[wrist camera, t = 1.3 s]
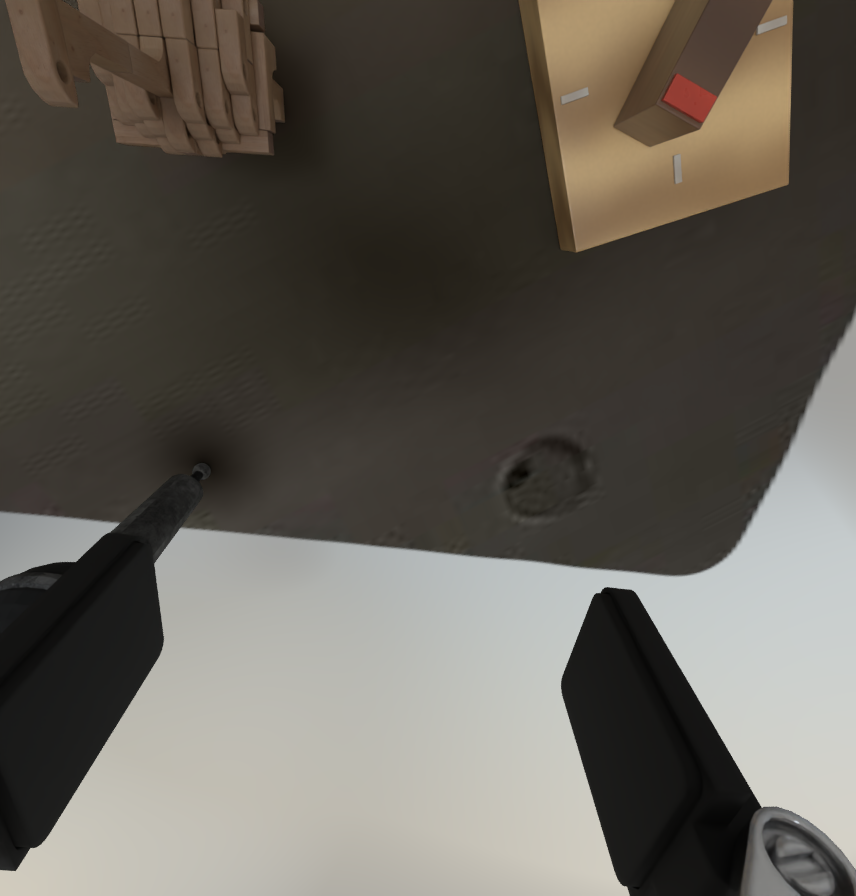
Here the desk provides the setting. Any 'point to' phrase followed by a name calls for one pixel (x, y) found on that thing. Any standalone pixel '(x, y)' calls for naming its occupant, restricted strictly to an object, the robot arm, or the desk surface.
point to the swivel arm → (688, 67)
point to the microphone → (149, 520)
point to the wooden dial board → (628, 160)
